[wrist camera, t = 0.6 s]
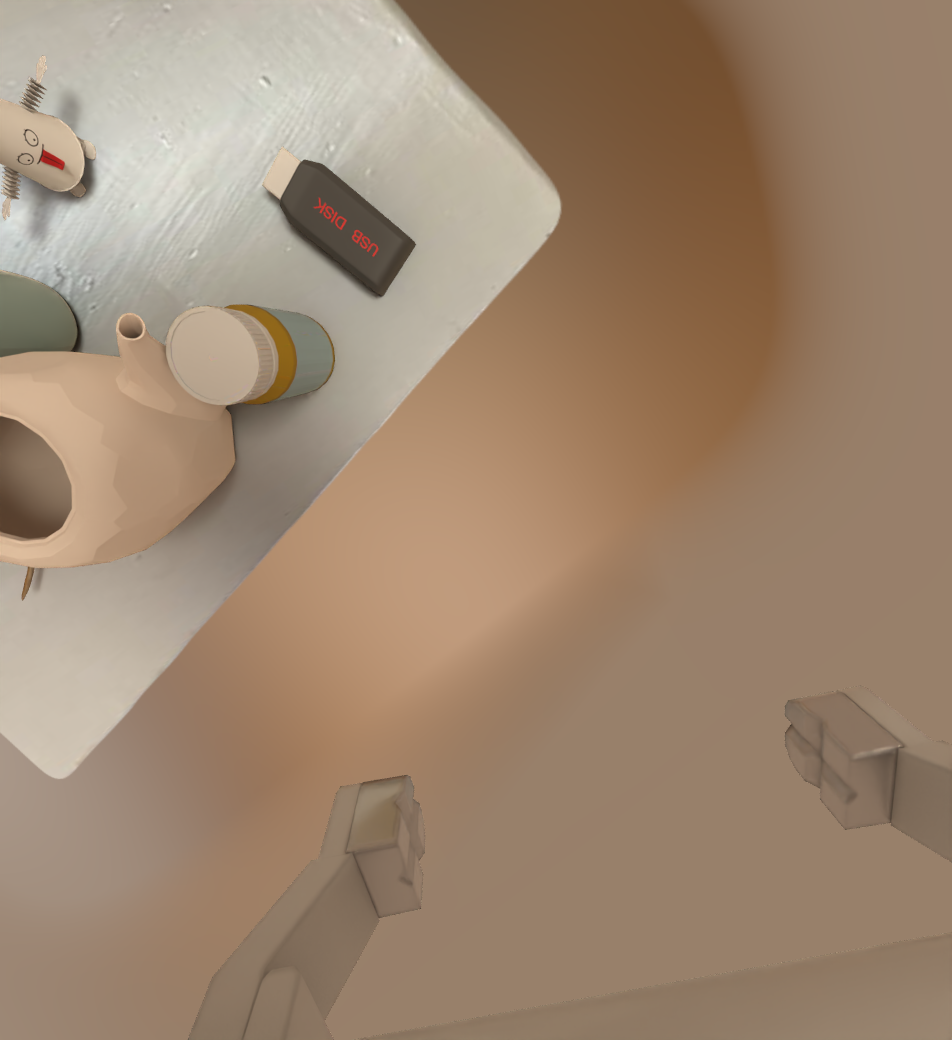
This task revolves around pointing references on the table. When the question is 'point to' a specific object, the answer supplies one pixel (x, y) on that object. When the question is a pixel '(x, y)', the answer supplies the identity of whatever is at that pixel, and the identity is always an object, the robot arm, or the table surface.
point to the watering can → (102, 452)
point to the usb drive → (339, 220)
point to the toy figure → (39, 146)
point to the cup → (33, 317)
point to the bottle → (248, 354)
